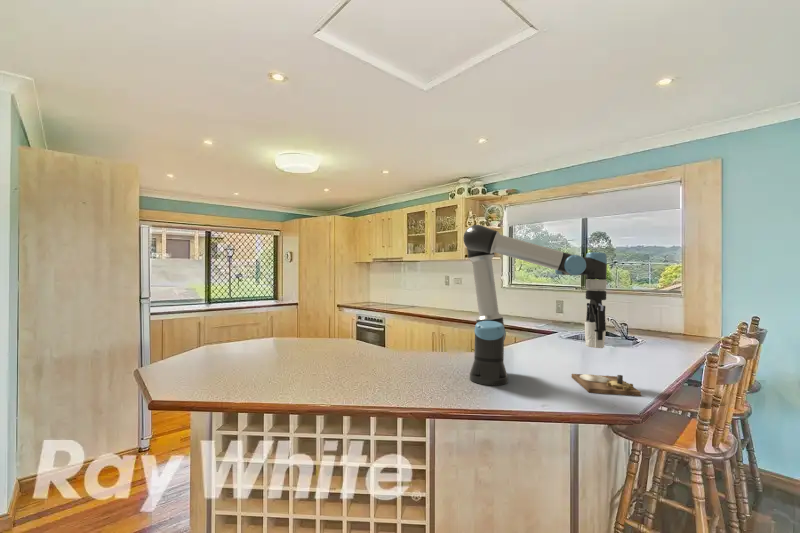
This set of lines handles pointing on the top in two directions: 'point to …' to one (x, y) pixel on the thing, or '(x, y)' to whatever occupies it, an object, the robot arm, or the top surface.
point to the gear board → (605, 384)
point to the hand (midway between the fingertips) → (595, 345)
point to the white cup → (591, 334)
